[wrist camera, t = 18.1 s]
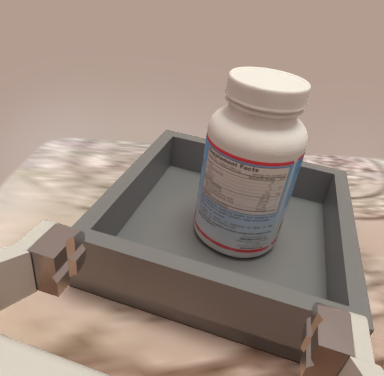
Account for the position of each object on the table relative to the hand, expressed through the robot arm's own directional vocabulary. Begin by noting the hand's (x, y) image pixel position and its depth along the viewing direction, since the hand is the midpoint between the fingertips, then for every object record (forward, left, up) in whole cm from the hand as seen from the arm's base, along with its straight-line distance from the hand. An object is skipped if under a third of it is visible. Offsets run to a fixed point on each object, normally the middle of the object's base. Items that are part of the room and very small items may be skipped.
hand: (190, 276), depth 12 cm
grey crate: (0, -12, -8) cm, 14 cm away
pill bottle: (-1, -12, -7) cm, 14 cm away
